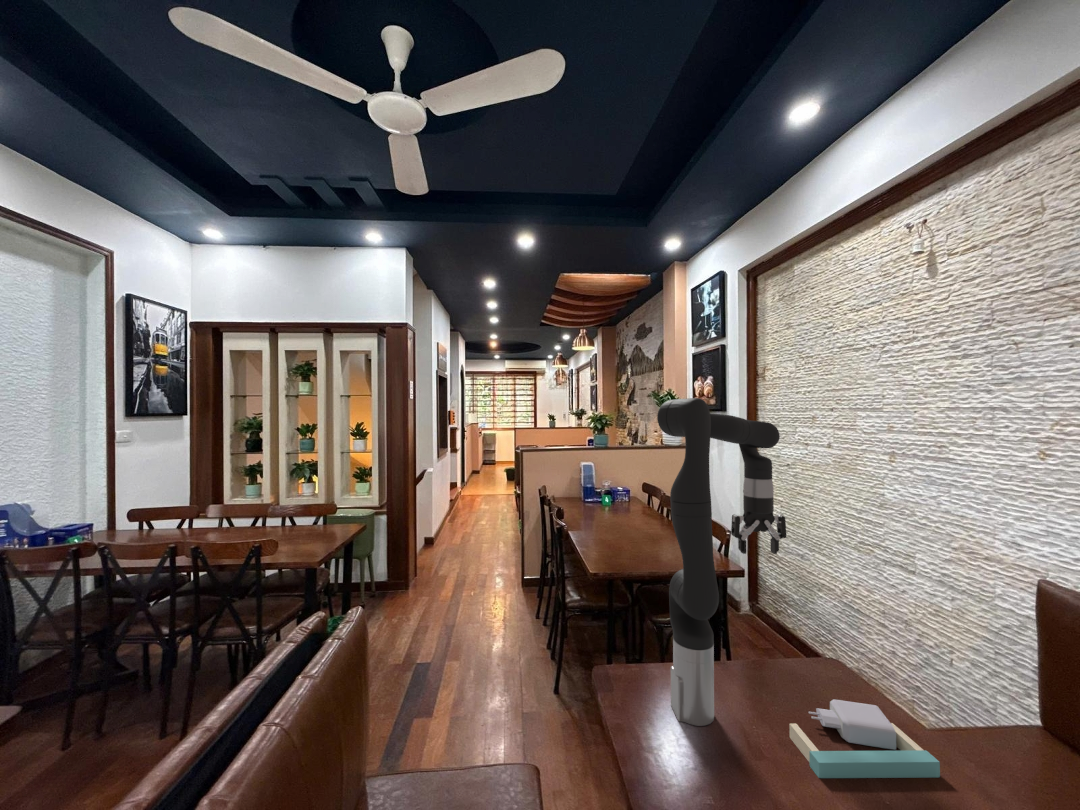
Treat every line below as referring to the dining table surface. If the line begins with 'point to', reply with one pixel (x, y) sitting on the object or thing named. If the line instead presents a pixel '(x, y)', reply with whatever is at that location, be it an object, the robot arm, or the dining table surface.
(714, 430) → the robot arm
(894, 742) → the charger
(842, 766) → the stop bay
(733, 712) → the dining table surface
